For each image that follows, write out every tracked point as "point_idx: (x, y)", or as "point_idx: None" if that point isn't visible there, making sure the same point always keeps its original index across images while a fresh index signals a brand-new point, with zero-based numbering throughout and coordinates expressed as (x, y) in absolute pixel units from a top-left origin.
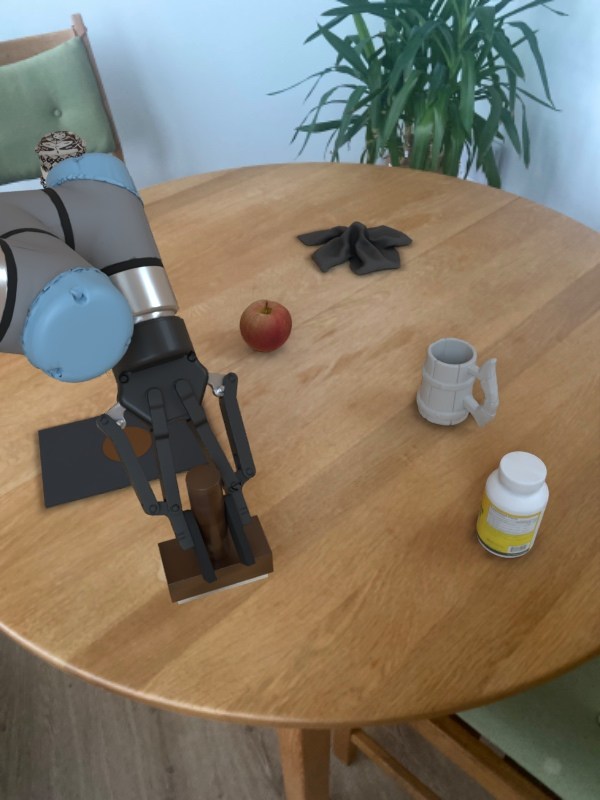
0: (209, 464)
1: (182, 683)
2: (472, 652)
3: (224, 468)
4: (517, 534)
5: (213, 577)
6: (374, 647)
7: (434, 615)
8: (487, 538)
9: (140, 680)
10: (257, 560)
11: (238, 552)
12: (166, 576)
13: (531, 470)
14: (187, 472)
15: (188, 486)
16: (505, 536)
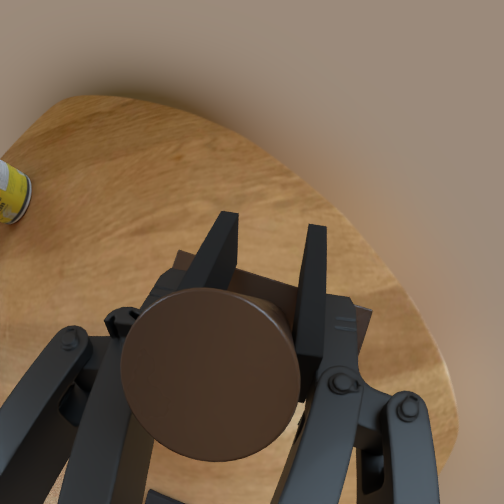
0: (165, 496)
1: (361, 262)
2: (111, 125)
3: (113, 397)
4: (6, 164)
5: (314, 227)
6: (165, 171)
7: (102, 167)
8: (20, 191)
9: (396, 295)
10: None
11: (231, 268)
12: (365, 329)
13: None
14: (253, 453)
15: (299, 377)
16: (11, 172)
